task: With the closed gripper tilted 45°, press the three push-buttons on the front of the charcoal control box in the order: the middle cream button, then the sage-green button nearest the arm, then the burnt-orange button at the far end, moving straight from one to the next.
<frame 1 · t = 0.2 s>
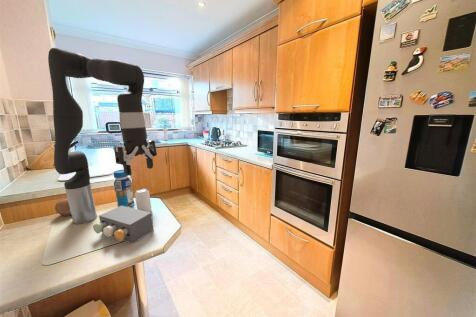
hand: (139, 171, 70), 29 cm above the kitchen counter, tool pointing down, fingers open, 8 cm apart
button cream: (112, 229, 77), point 5 cm above the kitchen counter, slide at 0.0 cm
onion: (69, 214, 101), on the kitchen counter
beverage bottle: (126, 205, 109), on the kitchen counter
control box: (128, 231, 84), on the kitchen counter
button orange: (123, 232, 75), point 4 cm above the kitchen counter, slide at 0.0 cm
can: (144, 212, 100), on the kitchen counter
button green: (102, 225, 80), point 4 cm above the kitchen counter, slide at 0.0 cm
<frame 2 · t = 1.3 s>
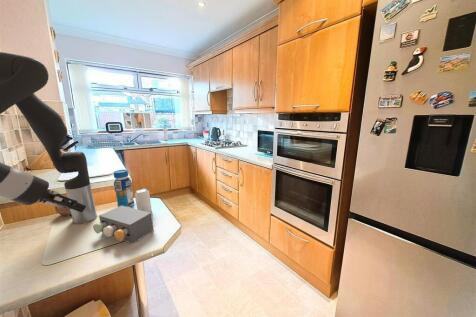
hand: (76, 207, 65), 19 cm above the kitchen counter, tool tilted 45°, fingers open, 8 cm apart
nothing on the kitchen counter moved.
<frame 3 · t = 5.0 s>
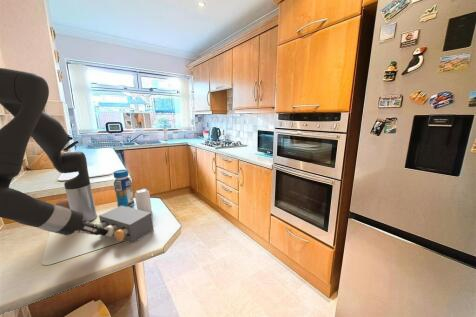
hand: (105, 232, 75), 4 cm above the kitchen counter, tool tilted 45°, fingers closed
button cream: (113, 228, 78), point 5 cm above the kitchen counter, slide at 0.4 cm, touching gripper
everything else where it was.
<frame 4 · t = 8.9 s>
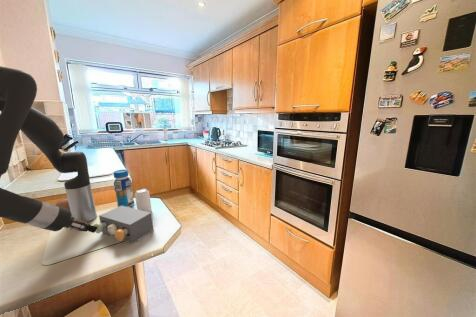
hand: (94, 229, 77), 4 cm above the kitchen counter, tool tilted 45°, fingers closed
button cream: (116, 227, 79), point 5 cm above the kitchen counter, slide at 1.6 cm
button green: (102, 225, 80), point 5 cm above the kitchen counter, slide at 0.0 cm, touching gripper
everything else where it was.
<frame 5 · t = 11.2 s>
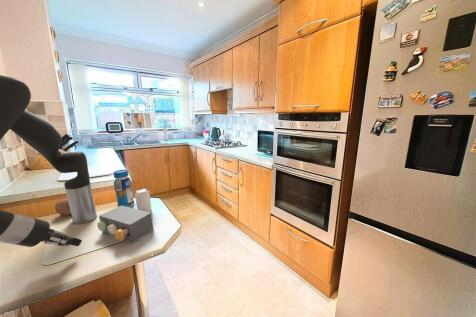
hand: (79, 242, 69), 5 cm above the kitchen counter, tool tilted 45°, fingers closed
button green: (106, 223, 81), point 5 cm above the kitchen counter, slide at 1.6 cm
everything else where it was.
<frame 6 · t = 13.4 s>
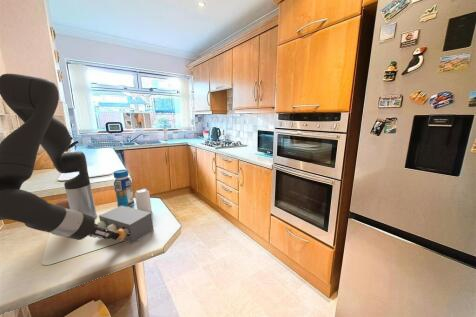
hand: (116, 236, 72), 4 cm above the kitchen counter, tool tilted 45°, fingers closed
button orange: (124, 232, 75), point 5 cm above the kitchen counter, slide at 0.4 cm, touching gripper
everything else where it was.
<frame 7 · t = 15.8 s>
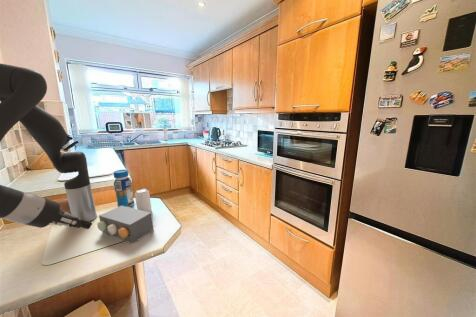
hand: (89, 225, 67), 12 cm above the kitchen counter, tool tilted 45°, fingers closed
button orange: (127, 230, 76), point 5 cm above the kitchen counter, slide at 1.6 cm
everything else where it was.
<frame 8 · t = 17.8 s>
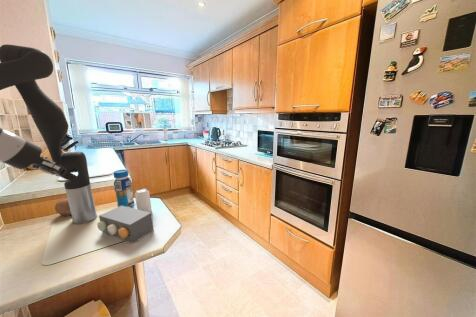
hand: (73, 178, 66), 28 cm above the kitchen counter, tool tilted 45°, fingers closed
nothing on the kitchen counter moved.
at the end: button cream slide at 1.6 cm; button green slide at 1.6 cm; button orange slide at 1.6 cm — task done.
